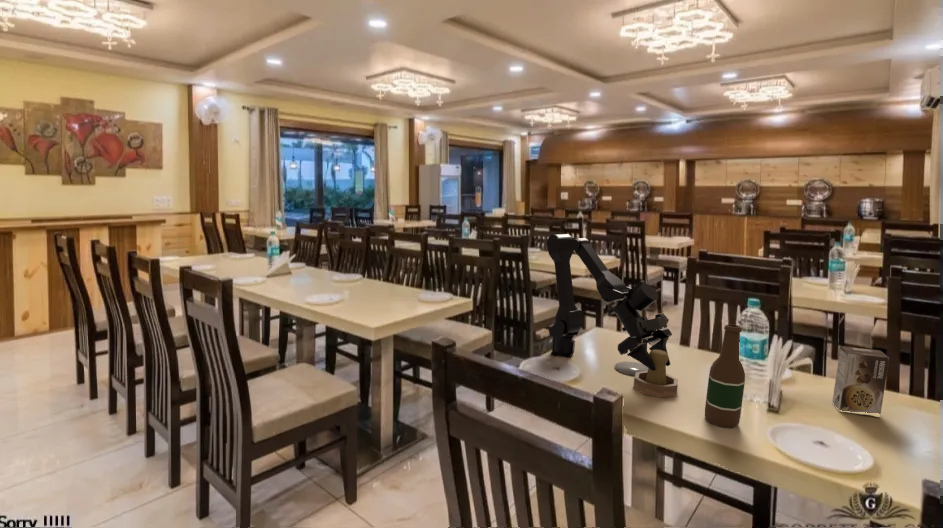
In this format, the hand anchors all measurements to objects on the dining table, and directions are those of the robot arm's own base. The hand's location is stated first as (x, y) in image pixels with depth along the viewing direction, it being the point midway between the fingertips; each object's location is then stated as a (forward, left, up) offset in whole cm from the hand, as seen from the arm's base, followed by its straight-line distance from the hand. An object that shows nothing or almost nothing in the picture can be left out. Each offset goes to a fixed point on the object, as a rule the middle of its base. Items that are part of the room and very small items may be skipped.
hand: (662, 367), depth 144 cm
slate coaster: (-8, +14, -7) cm, 17 cm away
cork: (-1, +1, -7) cm, 7 cm away
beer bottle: (+15, -13, -7) cm, 21 cm away
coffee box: (+48, +11, -7) cm, 49 cm away
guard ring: (-1, +1, -7) cm, 7 cm away
